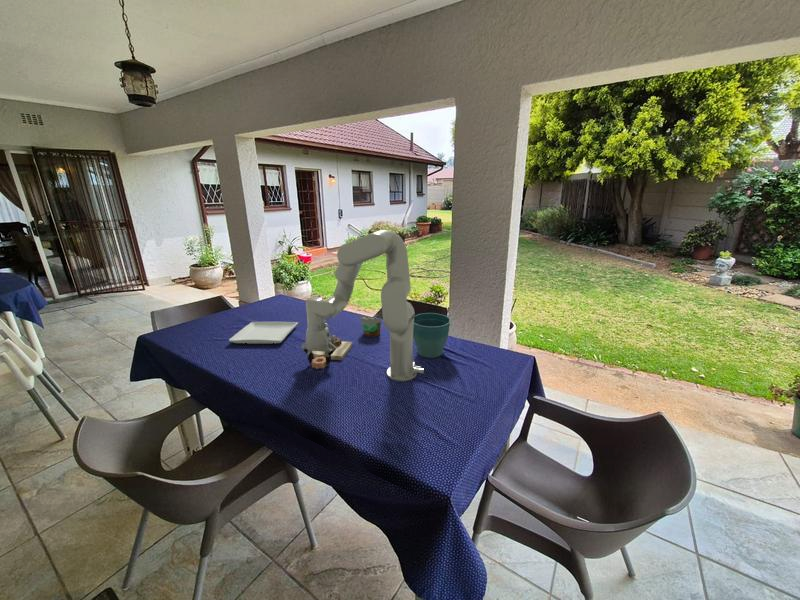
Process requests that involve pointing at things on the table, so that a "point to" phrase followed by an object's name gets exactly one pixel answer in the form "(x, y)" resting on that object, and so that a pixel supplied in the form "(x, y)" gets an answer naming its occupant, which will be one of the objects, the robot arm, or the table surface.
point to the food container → (371, 326)
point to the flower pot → (430, 333)
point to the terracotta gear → (319, 362)
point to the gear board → (339, 352)
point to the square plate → (264, 332)
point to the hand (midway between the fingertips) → (319, 362)
